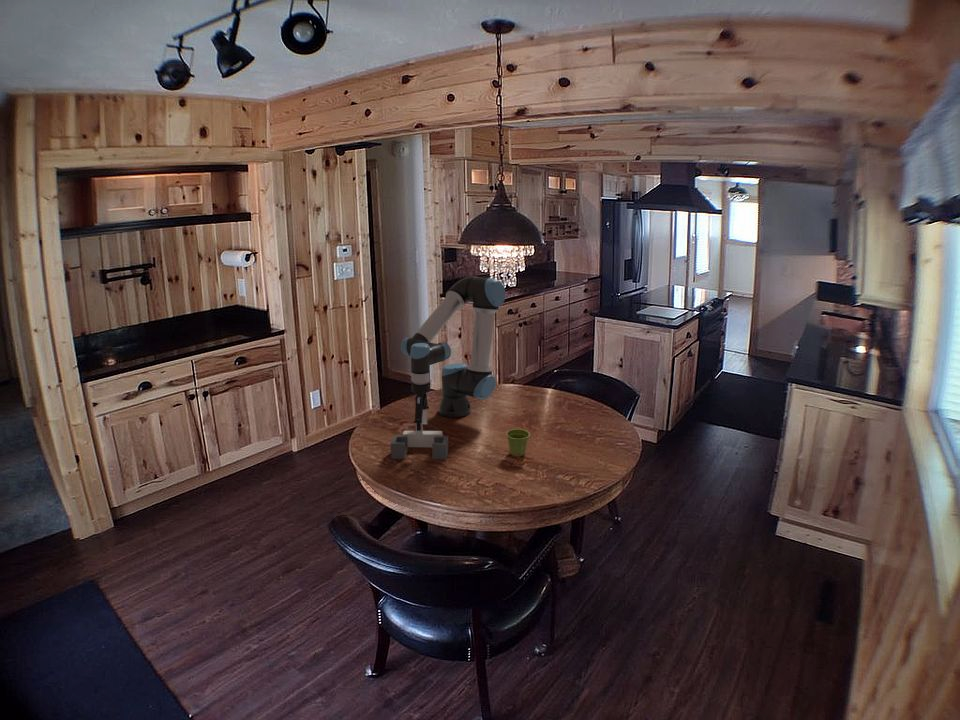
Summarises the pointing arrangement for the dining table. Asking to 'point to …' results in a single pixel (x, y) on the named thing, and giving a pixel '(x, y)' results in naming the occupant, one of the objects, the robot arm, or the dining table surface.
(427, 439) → the light grey long block
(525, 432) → the plant pot
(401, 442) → the endcap rack
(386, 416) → the dining table surface
